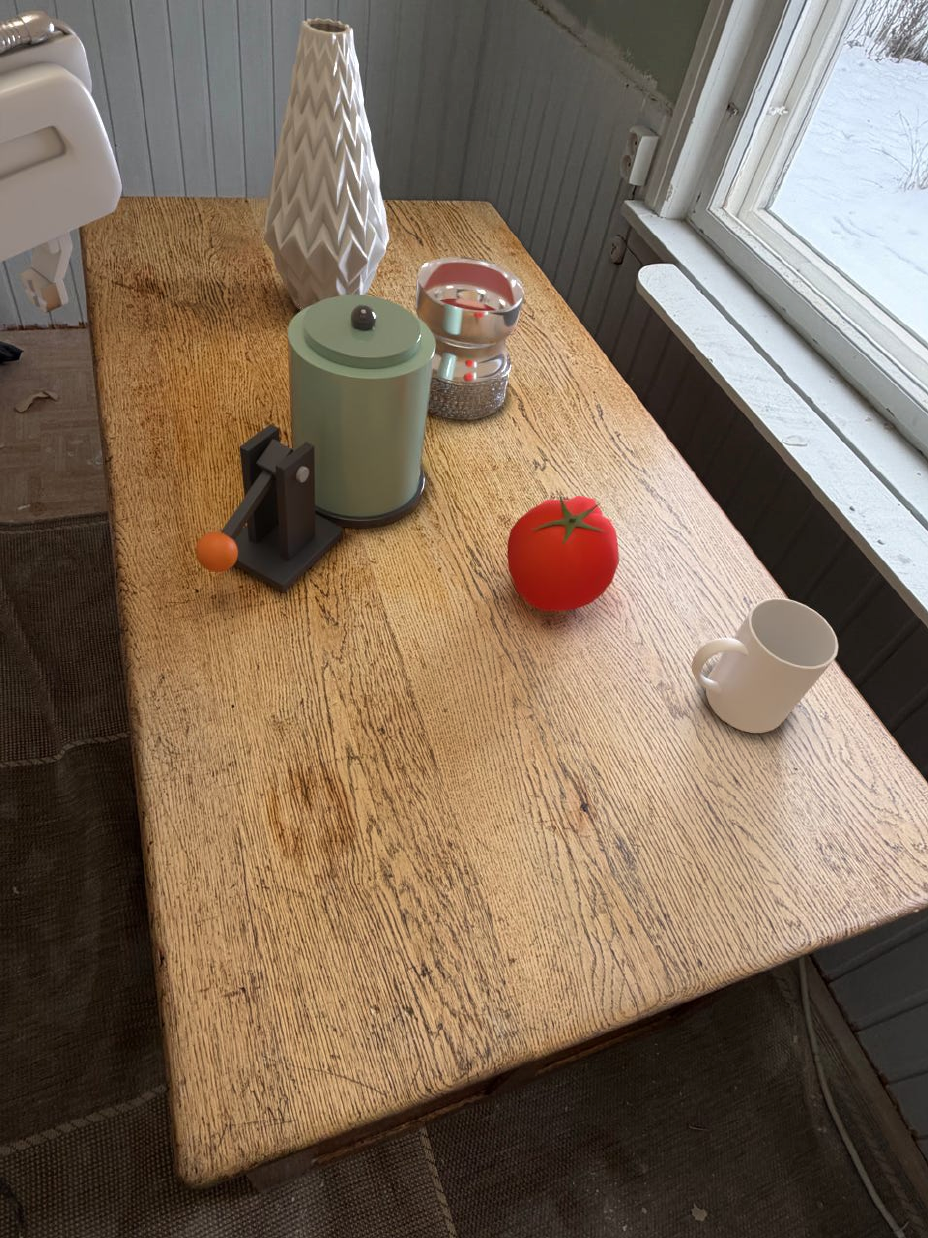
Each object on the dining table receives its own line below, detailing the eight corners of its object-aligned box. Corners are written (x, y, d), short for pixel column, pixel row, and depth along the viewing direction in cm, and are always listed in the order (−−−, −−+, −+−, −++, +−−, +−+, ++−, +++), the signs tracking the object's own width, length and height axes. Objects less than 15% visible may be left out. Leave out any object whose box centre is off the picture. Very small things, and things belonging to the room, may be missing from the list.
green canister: (374, 549, 81) (386, 372, 65) (258, 488, 85) (243, 306, 69) (448, 475, 90) (474, 305, 75) (341, 423, 94) (344, 250, 78)
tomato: (619, 571, 84) (650, 500, 76) (579, 650, 76) (608, 579, 69) (526, 530, 86) (546, 457, 79) (478, 602, 78) (495, 529, 71)
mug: (761, 663, 78) (810, 594, 70) (798, 729, 74) (855, 664, 66) (651, 674, 76) (690, 604, 68) (683, 745, 71) (728, 678, 63)
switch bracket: (283, 593, 76) (277, 493, 66) (218, 557, 78) (203, 454, 68) (343, 536, 82) (346, 437, 72) (282, 504, 84) (277, 403, 74)
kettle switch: (229, 584, 70) (212, 570, 67) (198, 566, 71) (180, 552, 68) (308, 466, 73) (296, 448, 69) (277, 450, 74) (263, 431, 70)
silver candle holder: (416, 421, 96) (428, 311, 85) (391, 341, 107) (399, 234, 96) (515, 419, 100) (539, 312, 88) (481, 341, 110) (499, 238, 99)
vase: (358, 348, 105) (369, 61, 80) (245, 314, 107) (222, 22, 82) (402, 295, 116) (423, 27, 91) (299, 264, 117) (293, -7, 92)
